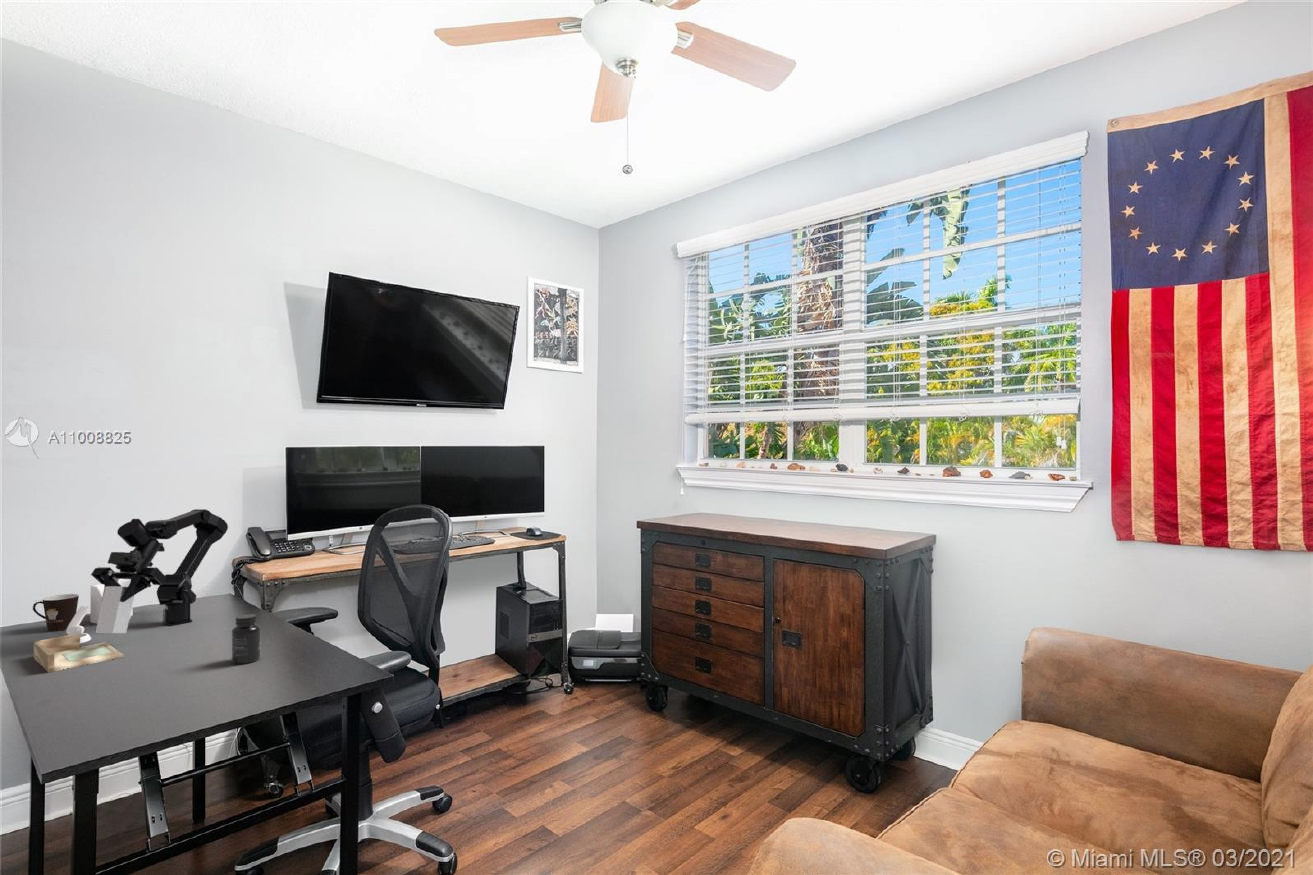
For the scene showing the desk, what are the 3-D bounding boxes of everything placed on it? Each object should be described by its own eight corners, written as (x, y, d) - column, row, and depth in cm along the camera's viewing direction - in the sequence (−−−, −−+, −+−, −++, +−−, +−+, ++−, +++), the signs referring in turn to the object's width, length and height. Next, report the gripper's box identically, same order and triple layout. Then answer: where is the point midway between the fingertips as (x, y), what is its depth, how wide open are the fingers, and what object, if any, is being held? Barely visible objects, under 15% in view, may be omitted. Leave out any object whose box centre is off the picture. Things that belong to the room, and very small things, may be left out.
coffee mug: (85, 626, 215) (85, 595, 215) (53, 633, 207) (53, 601, 207) (61, 623, 219) (61, 592, 219) (29, 630, 211) (29, 598, 211)
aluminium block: (109, 632, 196) (119, 587, 199) (126, 633, 195) (135, 587, 199) (95, 633, 191) (105, 586, 194) (112, 633, 191) (122, 586, 194)
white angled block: (120, 613, 231) (120, 578, 231) (141, 616, 226) (141, 581, 226) (84, 621, 221) (84, 584, 221) (105, 625, 217) (105, 587, 217)
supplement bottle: (266, 658, 183) (266, 614, 183) (242, 666, 177) (242, 620, 177) (250, 655, 186) (250, 612, 186) (225, 662, 180) (225, 618, 180)
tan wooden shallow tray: (105, 644, 196) (105, 628, 196) (123, 657, 185) (123, 640, 185) (33, 657, 184) (33, 641, 184) (48, 672, 172) (48, 655, 172)
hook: (109, 616, 208) (101, 607, 203) (88, 654, 201) (78, 647, 195) (82, 612, 207) (73, 603, 201) (59, 650, 199) (49, 642, 194)
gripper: (95, 540, 199) (62, 586, 188) (157, 540, 199) (128, 586, 188) (118, 561, 207) (87, 606, 196) (177, 561, 207) (150, 606, 196)
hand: (112, 601), depth 194 cm, fingers closed on aluminium block, 5 cm apart
